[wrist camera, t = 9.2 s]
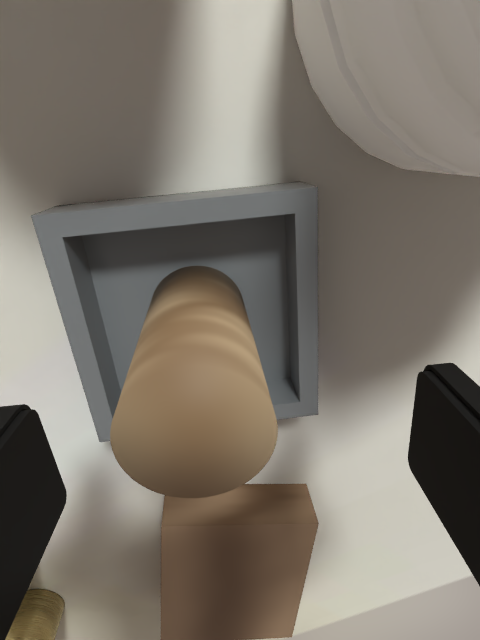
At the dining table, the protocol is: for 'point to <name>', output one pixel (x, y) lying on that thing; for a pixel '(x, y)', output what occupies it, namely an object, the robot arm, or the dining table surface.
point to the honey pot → (398, 77)
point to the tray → (182, 251)
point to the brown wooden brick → (235, 562)
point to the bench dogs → (37, 616)
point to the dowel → (194, 392)
